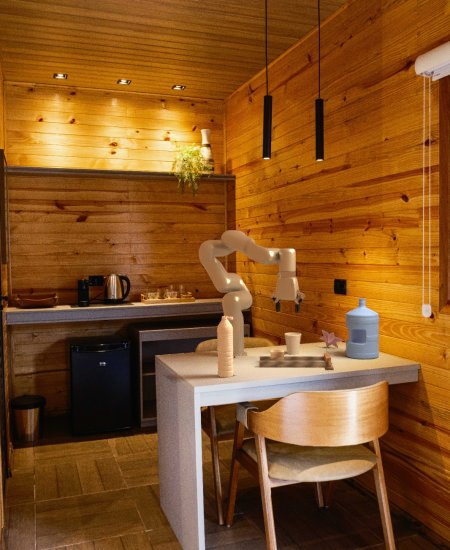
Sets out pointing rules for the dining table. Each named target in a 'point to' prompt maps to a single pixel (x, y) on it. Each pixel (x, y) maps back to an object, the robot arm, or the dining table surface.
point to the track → (298, 362)
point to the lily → (330, 339)
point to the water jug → (362, 332)
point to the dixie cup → (292, 343)
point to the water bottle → (225, 347)
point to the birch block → (277, 355)
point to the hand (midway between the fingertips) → (287, 312)
